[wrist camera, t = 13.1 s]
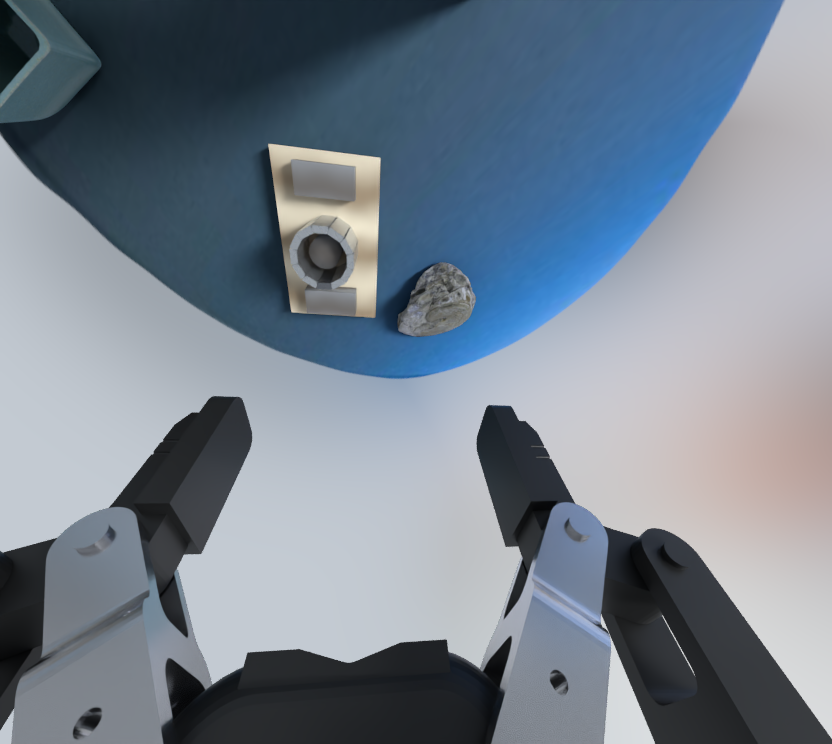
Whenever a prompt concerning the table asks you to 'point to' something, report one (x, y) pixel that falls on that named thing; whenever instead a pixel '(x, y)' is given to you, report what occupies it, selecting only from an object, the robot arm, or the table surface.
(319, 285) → the hub ring
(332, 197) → the shaft block
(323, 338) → the table surface
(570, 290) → the table surface
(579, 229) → the table surface
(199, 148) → the table surface
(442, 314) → the fossilized seashell
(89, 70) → the flower pot
